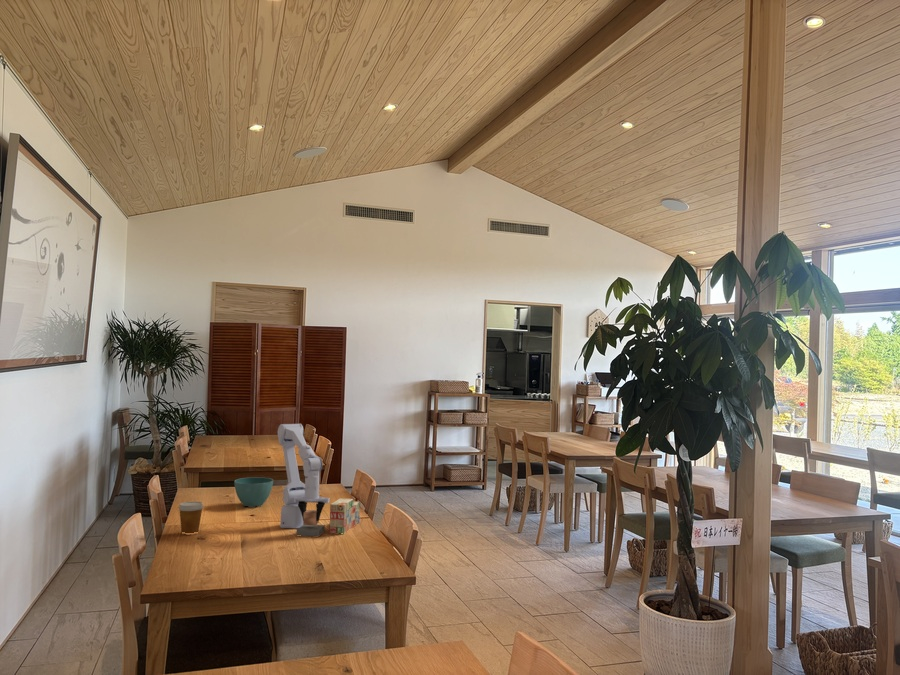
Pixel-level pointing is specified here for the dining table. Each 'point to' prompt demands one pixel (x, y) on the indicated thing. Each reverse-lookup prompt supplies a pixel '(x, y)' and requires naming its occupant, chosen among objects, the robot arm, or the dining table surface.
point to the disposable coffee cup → (190, 516)
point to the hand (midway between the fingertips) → (311, 520)
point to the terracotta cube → (310, 517)
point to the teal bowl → (253, 490)
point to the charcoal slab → (311, 530)
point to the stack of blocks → (343, 515)
